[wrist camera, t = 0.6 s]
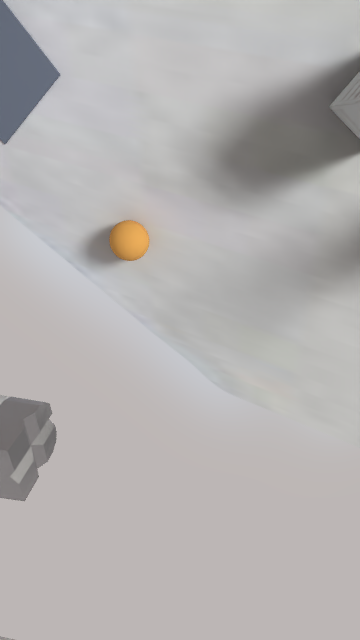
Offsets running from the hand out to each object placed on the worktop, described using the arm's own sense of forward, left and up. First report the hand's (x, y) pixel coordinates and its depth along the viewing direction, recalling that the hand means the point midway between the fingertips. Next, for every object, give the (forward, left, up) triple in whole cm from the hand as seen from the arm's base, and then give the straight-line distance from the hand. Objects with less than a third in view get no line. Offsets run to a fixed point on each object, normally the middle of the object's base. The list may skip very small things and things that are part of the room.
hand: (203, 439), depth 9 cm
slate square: (-17, -28, -42) cm, 53 cm away
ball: (+6, -15, -40) cm, 43 cm away
